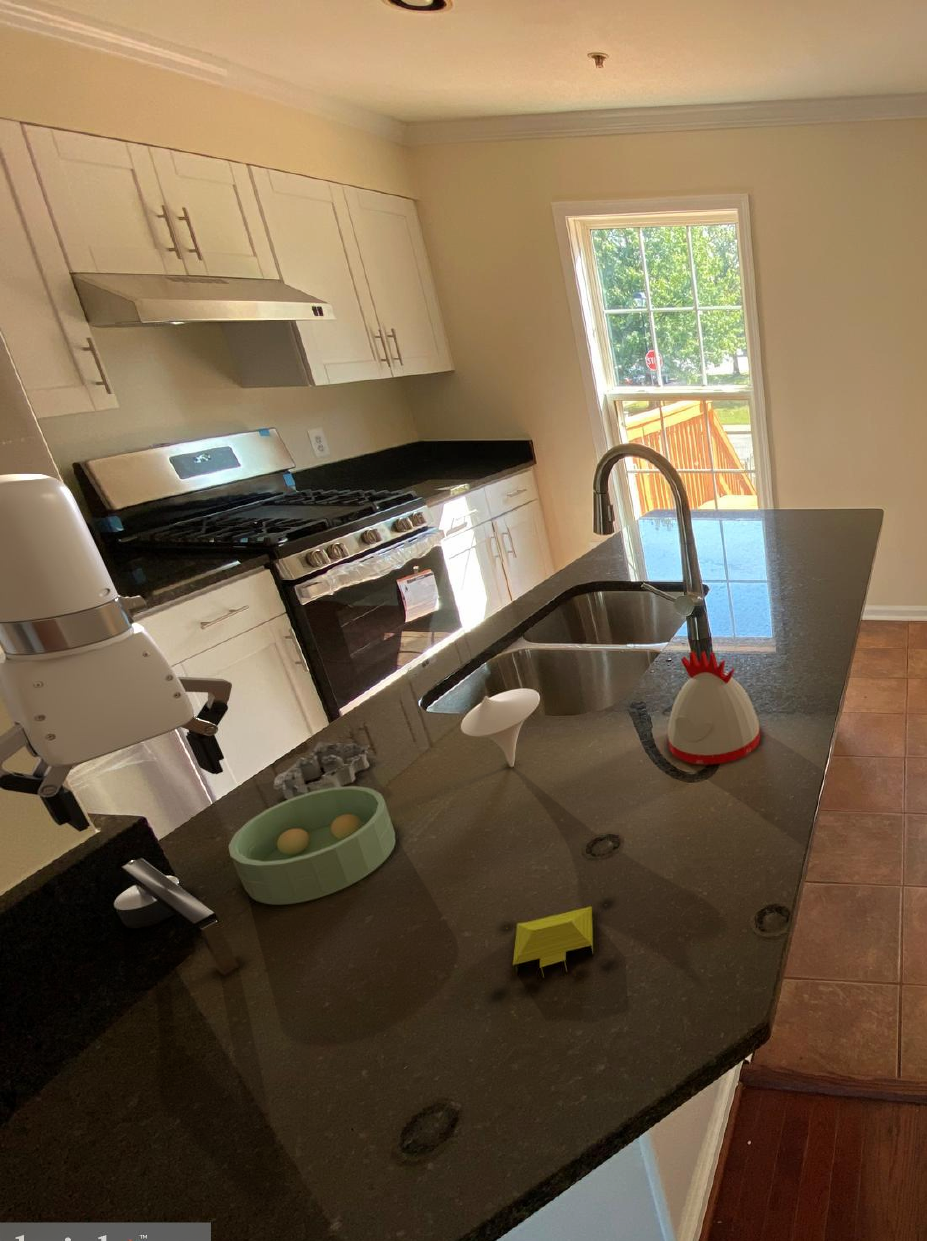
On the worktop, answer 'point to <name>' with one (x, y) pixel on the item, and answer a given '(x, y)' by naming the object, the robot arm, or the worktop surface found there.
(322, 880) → the bowl
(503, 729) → the white spinning top
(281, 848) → the orange-brown rounded ball
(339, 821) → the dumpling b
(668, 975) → the worktop surface
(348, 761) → the egg carton
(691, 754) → the kitchen timer
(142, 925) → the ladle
